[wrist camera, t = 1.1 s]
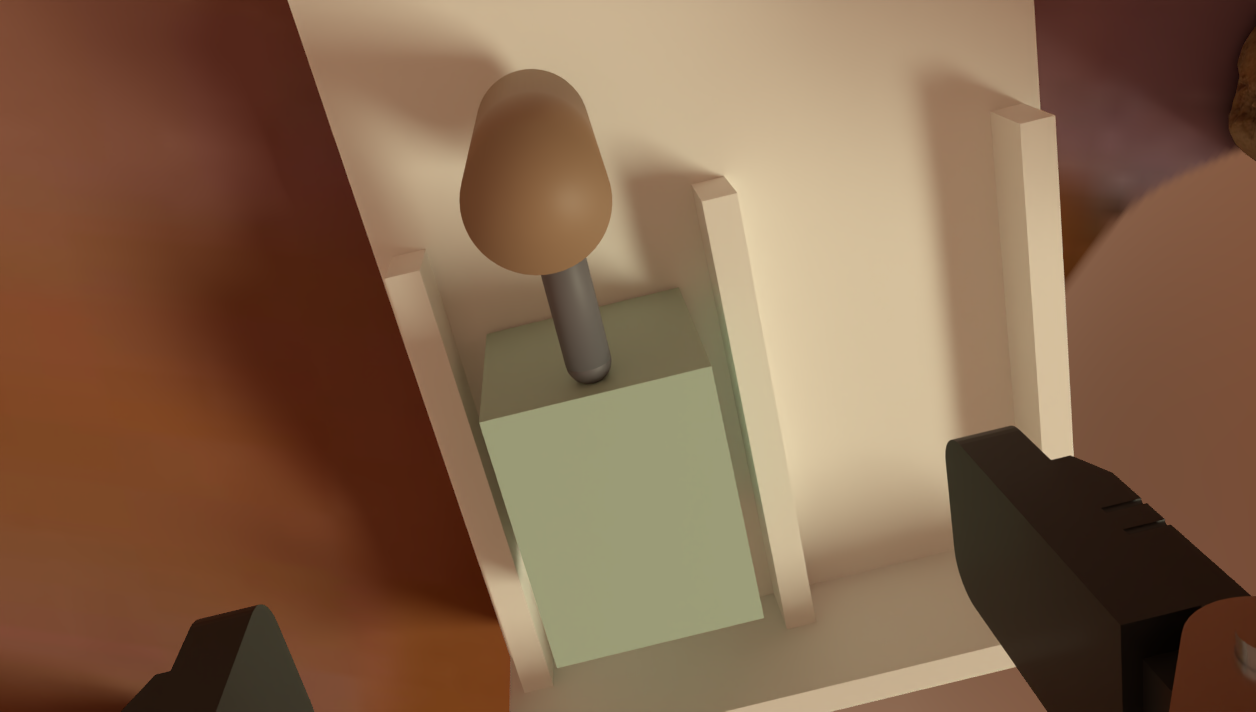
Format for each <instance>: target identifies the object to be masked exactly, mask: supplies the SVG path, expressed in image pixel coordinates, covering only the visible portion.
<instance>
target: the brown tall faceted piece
mask: <svg viewBox="0 0 1256 712" xmlns="http://www.w3.org/2000/svg"><path fill="white" fill-rule="evenodd" d="M1237 66H1238V71H1239V76H1240V77H1239V81H1238V86H1237V91H1236V95H1235V97H1234V100H1233V105H1232V109H1231V112H1230V114H1229V131H1230V134H1231V136H1232V138H1233V140H1234V142H1235V144H1236V145H1237V146H1238V147H1239V148H1240V149H1241V150H1242V151H1243V152H1244V153H1246V154H1247V155H1248V156H1250V157H1251V158H1252V159H1254V160H1255V161H1256V26H1255V28H1254V29H1253V31H1252V32H1251V34H1250V35H1249V36H1248V38H1247V40H1246V41H1245V43H1244V45H1243V47H1242V50H1241V53H1240V56H1239V60H1238V63H1237Z"/></svg>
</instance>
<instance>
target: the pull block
mask: <svg viewBox="0 0 1256 712" xmlns="http://www.w3.org/2000/svg"><path fill="white" fill-rule="evenodd" d="M459 203H460V213H461V217H462V221H463V224H464V227H465V229H466V231H467V233H468V235H469V237H470V239H471V240H472V242H473V243H474V245H475V246H476V247H477V248H478V249H479V250H480V251H481V253H482V254H483V255H485V256H486V257H487V258H488V259H489V260H491V261H492V262H494V263H495V264H497V265H499V266H501V267H503V268H505V269H507V270H510V271H513V272H516V273H520V274H525V275H541V278H542V282H543V285H544V289H545V293H546V296H547V300H548V304H549V307H550V311H551V315H552V318H551V319H547V320H542V321H538V322H534V323H530V324H526V325H522V326H518V327H514V328H510V329H505V330H501V331H497V332H493V333H489V334H487V336H486V347H485V359H484V371H483V382H482V394H481V405H480V417H479V424H480V427H481V430H482V434H483V437H484V440H485V443H486V446H487V449H488V452H489V456H490V459H491V462H492V465H493V468H494V471H495V475H496V478H497V481H498V484H499V487H500V490H501V493H502V497H503V500H504V503H505V506H506V509H507V512H508V515H509V519H510V522H511V525H512V528H513V531H514V534H515V537H516V541H517V544H518V547H519V550H520V553H521V556H522V559H523V563H524V566H525V569H526V572H527V575H528V578H529V581H530V585H531V588H532V591H533V594H534V597H535V600H536V603H537V607H538V610H539V613H540V616H541V619H542V622H543V625H544V629H545V632H546V635H547V638H548V641H549V644H550V647H551V651H552V654H553V657H554V660H555V663H556V666H557V668H560V667H564V666H568V665H573V664H577V663H581V662H585V661H589V660H593V659H597V658H601V657H606V656H610V655H614V654H618V653H622V652H626V651H630V650H634V649H639V648H643V647H647V646H651V645H655V644H659V643H663V642H667V641H672V640H676V639H680V638H684V637H688V636H692V635H696V634H700V633H704V632H709V631H713V630H717V629H721V628H725V627H729V626H733V625H737V624H742V623H746V622H750V621H754V620H758V619H762V618H764V615H763V610H762V605H761V600H760V596H759V591H758V586H757V581H756V576H755V572H754V567H753V562H752V557H751V553H750V548H749V543H748V538H747V533H746V529H745V524H744V519H743V514H742V509H741V505H740V500H739V495H738V490H737V486H736V481H735V476H734V471H733V466H732V462H731V457H730V452H729V447H728V443H727V438H726V433H725V428H724V423H723V419H722V414H721V409H720V404H719V400H718V395H717V390H716V385H715V380H714V376H713V371H712V366H711V364H710V361H709V359H708V357H707V354H706V352H705V349H704V347H703V345H702V342H701V340H700V337H699V335H698V333H697V330H696V328H695V325H694V323H693V321H692V318H691V316H690V313H689V311H688V309H687V306H686V304H685V301H684V299H683V297H682V294H681V292H680V289H679V287H678V288H674V289H670V290H666V291H662V292H657V293H653V294H649V295H645V296H641V297H637V298H633V299H629V300H625V301H620V302H616V303H612V304H608V305H604V306H600V307H599V306H598V302H597V298H596V294H595V290H594V286H593V282H592V278H591V274H590V270H589V266H588V262H587V258H586V257H587V256H588V255H589V254H590V253H591V252H592V251H593V250H594V249H595V248H596V247H597V245H598V244H599V243H600V241H601V240H602V238H603V236H604V234H605V232H606V230H607V227H608V225H609V221H610V217H611V212H612V191H611V185H610V182H609V178H608V175H607V172H606V169H605V166H604V163H603V160H602V157H601V154H600V150H599V147H598V144H597V141H596V138H595V135H594V132H593V129H592V126H591V123H590V120H589V116H588V113H587V110H586V107H585V105H584V103H583V100H582V98H581V97H580V95H579V94H578V92H577V91H576V90H575V89H574V87H573V86H572V85H570V84H569V83H568V82H567V81H566V80H564V79H563V78H562V77H560V76H558V75H556V74H554V73H551V72H548V71H544V70H539V69H524V70H518V71H515V72H512V73H510V74H507V75H505V76H504V77H502V78H500V79H499V80H498V81H496V82H495V83H494V84H493V85H492V86H491V87H490V88H489V89H488V91H487V92H486V94H485V95H484V97H483V99H482V101H481V103H480V106H479V109H478V112H477V117H476V121H475V125H474V130H473V134H472V139H471V143H470V147H469V152H468V156H467V160H466V165H465V169H464V174H463V178H462V182H461V188H460V198H459Z"/></svg>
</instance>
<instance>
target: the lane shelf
mask: <svg viewBox="0 0 1256 712" xmlns="http://www.w3.org/2000/svg"><path fill="white" fill-rule="evenodd" d="M288 3H289V6H290V9H291V12H292V15H293V18H294V21H295V24H296V27H297V30H298V33H299V35H300V38H301V41H302V44H303V47H304V50H305V53H306V56H307V59H308V62H309V65H310V68H311V71H312V74H313V77H314V80H315V83H316V86H317V89H318V91H319V94H320V97H321V100H322V103H323V106H324V109H325V112H326V115H327V118H328V121H329V124H330V127H331V130H332V133H333V136H334V139H335V142H336V144H337V147H338V150H339V153H340V156H341V159H342V162H343V165H344V168H345V171H346V174H347V177H348V180H349V183H350V186H351V189H352V192H353V195H354V198H355V200H356V203H357V206H358V209H359V212H360V215H361V218H362V221H363V224H364V227H365V230H366V233H367V236H368V239H369V242H370V245H371V248H372V251H373V254H374V256H375V259H376V262H377V265H378V268H379V271H380V274H381V277H382V280H383V283H384V286H385V289H386V292H387V295H388V298H389V301H390V304H391V307H392V309H393V312H394V315H395V318H396V321H397V324H398V327H399V330H400V333H401V336H402V339H403V342H404V345H405V348H406V351H407V354H408V357H409V360H410V363H411V365H412V368H413V371H414V374H415V377H416V380H417V383H418V386H419V389H420V392H421V395H422V398H423V401H424V404H425V407H426V410H427V413H428V416H429V419H430V421H431V424H432V427H433V430H434V433H435V436H436V439H437V442H438V445H439V448H440V451H441V454H442V457H443V460H444V463H445V466H446V469H447V472H448V474H449V477H450V480H451V483H452V486H453V489H454V492H455V495H456V498H457V501H458V504H459V507H460V510H461V513H462V516H463V519H464V522H465V525H466V528H467V530H468V533H469V536H470V539H471V542H472V545H473V548H474V551H475V554H476V557H477V560H478V563H479V566H480V569H481V572H482V575H483V578H484V581H485V584H486V586H487V589H488V592H489V595H490V598H491V601H492V604H493V607H494V610H495V613H496V616H497V619H498V622H499V625H500V628H501V631H502V634H503V637H504V639H505V642H506V645H507V648H508V651H509V654H510V657H511V660H510V712H831V711H836V710H840V709H844V708H848V707H852V706H856V705H860V704H864V703H868V702H873V701H877V700H881V699H885V698H889V697H893V696H897V695H901V694H906V693H909V692H914V691H918V690H922V689H926V688H930V687H934V686H939V685H943V684H947V683H950V682H955V681H959V680H963V679H967V678H972V677H976V676H980V675H984V674H988V673H992V672H996V671H1001V670H1005V669H1009V668H1013V667H1016V666H1015V664H1014V663H1013V661H1012V660H1011V659H1010V657H1009V656H1008V654H1007V653H1006V651H1005V650H1004V649H1003V647H1002V646H1001V644H1000V643H999V641H998V640H997V639H996V637H995V636H994V634H993V633H992V631H991V630H990V629H989V627H988V626H987V624H986V623H985V621H984V620H983V619H982V617H981V616H980V614H979V613H978V611H977V610H976V608H975V607H974V605H973V604H972V602H971V600H970V599H969V597H968V594H967V592H966V590H965V588H964V585H963V583H962V580H961V577H960V574H959V570H958V566H957V562H956V557H955V551H954V542H953V532H952V522H951V511H950V501H949V491H948V481H947V471H946V460H945V450H946V445H947V443H948V441H950V440H952V439H956V438H961V437H965V436H969V435H973V434H977V433H981V432H985V431H990V430H994V429H998V428H1002V427H1006V426H1015V427H1017V428H1018V429H1019V430H1020V431H1021V432H1022V433H1024V434H1025V435H1026V436H1027V437H1028V438H1029V439H1030V440H1031V441H1032V442H1033V443H1034V444H1035V445H1036V446H1037V447H1038V448H1039V449H1040V450H1041V451H1042V452H1043V453H1044V454H1045V455H1046V456H1047V457H1048V458H1049V459H1051V460H1053V459H1057V458H1062V457H1066V456H1070V455H1071V456H1073V457H1074V453H1073V435H1072V417H1071V399H1070V379H1069V361H1068V344H1067V324H1066V305H1065V286H1064V268H1063V249H1062V231H1061V212H1060V194H1059V175H1058V157H1057V138H1056V120H1055V115H1053V114H1050V113H1047V112H1045V111H1042V110H1040V94H1039V77H1038V60H1037V43H1036V27H1035V10H1034V0H288ZM524 69H539V70H544V71H548V72H551V73H554V74H556V75H558V76H560V77H562V78H563V79H564V80H566V81H567V82H568V83H569V84H570V85H572V86H573V87H574V89H575V90H576V91H577V92H578V94H579V95H580V97H581V98H582V100H583V103H584V105H585V107H586V110H587V113H588V116H589V120H590V123H591V126H592V129H593V132H594V135H595V138H596V141H597V144H598V147H599V150H600V154H601V157H602V160H603V163H604V166H605V169H606V172H607V175H608V178H609V182H610V185H611V191H612V212H611V217H610V221H609V225H608V227H607V230H606V232H605V234H604V236H603V238H602V240H601V241H600V243H599V244H598V245H597V247H596V248H595V249H594V250H593V251H592V252H591V253H590V254H589V255H588V256H587V257H586V258H587V262H588V266H589V270H590V274H591V278H592V282H593V286H594V290H595V294H596V298H597V302H598V306H599V307H600V306H604V305H608V304H612V303H616V302H620V301H625V300H629V299H633V298H637V297H641V296H645V295H649V294H653V293H657V292H662V291H666V290H670V289H674V288H678V287H679V289H680V292H681V294H682V297H683V299H684V301H685V304H686V306H687V309H688V311H689V313H690V316H691V318H692V321H693V323H694V325H695V328H696V330H697V333H698V335H699V337H700V340H701V342H702V345H703V347H704V349H705V352H706V354H707V357H708V359H709V361H710V364H711V366H712V371H713V376H714V380H715V385H716V390H717V395H718V400H719V404H720V409H721V414H722V419H723V423H724V428H725V433H726V438H727V443H728V447H729V452H730V457H731V462H732V466H733V471H734V476H735V481H736V486H737V490H738V495H739V500H740V505H741V509H742V514H743V519H744V524H745V529H746V533H747V538H748V543H749V548H750V553H751V557H752V562H753V567H754V572H755V576H756V581H757V586H758V591H759V596H760V600H761V605H762V610H763V615H764V618H762V619H758V620H754V621H750V622H746V623H742V624H737V625H733V626H729V627H725V628H721V629H717V630H713V631H709V632H704V633H700V634H696V635H692V636H688V637H684V638H680V639H676V640H672V641H667V642H663V643H659V644H655V645H651V646H647V647H643V648H639V649H634V650H630V651H626V652H622V653H618V654H614V655H610V656H606V657H601V658H597V659H593V660H589V661H585V662H581V663H577V664H573V665H568V666H564V667H560V668H557V666H556V663H555V660H554V657H553V654H552V651H551V647H550V644H549V641H548V638H547V635H546V632H545V629H544V625H543V622H542V619H541V616H540V613H539V610H538V607H537V603H536V600H535V597H534V594H533V591H532V588H531V585H530V581H529V578H528V575H527V572H526V569H525V566H524V563H523V559H522V556H521V553H520V550H519V547H518V544H517V541H516V537H515V534H514V531H513V528H512V525H511V522H510V519H509V515H508V512H507V509H506V506H505V503H504V500H503V497H502V493H501V490H500V487H499V484H498V481H497V478H496V475H495V471H494V468H493V465H492V462H491V459H490V456H489V452H488V449H487V446H486V443H485V440H484V437H483V434H482V430H481V427H480V424H479V417H480V405H481V394H482V382H483V371H484V359H485V347H486V336H487V334H489V333H493V332H497V331H501V330H505V329H510V328H514V327H518V326H522V325H526V324H530V323H534V322H538V321H542V320H547V319H551V318H552V315H551V311H550V307H549V304H548V300H547V296H546V293H545V289H544V285H543V282H542V278H541V275H525V274H520V273H516V272H513V271H510V270H507V269H505V268H503V267H501V266H499V265H497V264H495V263H494V262H492V261H491V260H489V259H488V258H487V257H486V256H485V255H483V254H482V253H481V251H480V250H479V249H478V248H477V247H476V246H475V245H474V243H473V242H472V240H471V239H470V237H469V235H468V233H467V231H466V229H465V227H464V224H463V221H462V217H461V213H460V203H459V198H460V188H461V182H462V178H463V174H464V169H465V165H466V160H467V156H468V152H469V147H470V143H471V139H472V134H473V130H474V125H475V121H476V117H477V112H478V109H479V106H480V103H481V101H482V99H483V97H484V95H485V94H486V92H487V91H488V89H489V88H490V87H491V86H492V85H493V84H494V83H495V82H496V81H498V80H499V79H500V78H502V77H504V76H505V75H507V74H510V73H512V72H515V71H518V70H524Z"/></svg>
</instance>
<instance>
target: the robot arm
mask: <svg viewBox="0 0 1256 712" xmlns="http://www.w3.org/2000/svg"><path fill="white" fill-rule="evenodd" d="M945 460H946V471H947V481H948V491H949V501H950V511H951V522H952V532H953V542H954V551H955V557H956V562H957V566H958V570H959V574H960V577H961V580H962V583H963V585H964V588H965V590H966V592H967V594H968V597H969V599H970V600H971V602H972V604H973V605H974V607H975V608H976V610H977V611H978V613H979V614H980V616H981V617H982V619H983V620H984V621H985V623H986V624H987V626H988V627H989V629H990V630H991V631H992V633H993V634H994V636H995V637H996V639H997V640H998V641H999V643H1000V644H1001V646H1002V647H1003V649H1004V650H1005V651H1006V653H1007V654H1008V656H1009V657H1010V659H1011V660H1012V661H1013V663H1014V664H1015V666H1016V667H1017V669H1018V670H1019V671H1020V673H1021V674H1022V676H1023V677H1024V679H1025V680H1026V682H1027V683H1028V684H1029V686H1030V687H1031V689H1032V690H1033V692H1034V693H1035V694H1036V696H1037V697H1038V699H1039V700H1040V702H1041V703H1042V704H1043V706H1044V707H1045V709H1046V710H1047V712H1256V596H1251V595H1249V594H1248V593H1247V592H1246V591H1245V590H1244V589H1243V588H1242V587H1241V586H1239V585H1238V584H1237V583H1236V582H1235V581H1234V580H1233V579H1232V578H1230V577H1229V576H1228V575H1227V574H1226V573H1225V572H1224V571H1222V570H1221V569H1220V568H1219V567H1218V566H1217V565H1216V564H1215V563H1214V562H1212V561H1211V560H1210V559H1209V558H1208V557H1207V556H1206V555H1204V554H1203V553H1202V552H1201V551H1200V550H1199V549H1198V548H1197V547H1195V546H1194V545H1193V544H1192V543H1191V542H1190V541H1189V540H1188V539H1186V538H1185V537H1184V536H1183V535H1182V534H1181V533H1180V532H1179V531H1177V530H1176V529H1175V528H1174V527H1173V526H1172V525H1166V523H1165V519H1164V518H1163V517H1162V516H1161V515H1159V514H1158V513H1157V512H1156V511H1155V510H1154V509H1153V508H1151V507H1150V506H1149V505H1148V504H1147V503H1146V504H1143V503H1142V501H1141V498H1140V497H1139V496H1138V495H1137V494H1136V493H1134V492H1133V491H1132V490H1131V489H1130V488H1129V487H1128V486H1127V485H1126V484H1124V483H1123V482H1122V481H1121V480H1120V479H1119V478H1118V477H1117V476H1115V475H1114V474H1113V473H1111V472H1109V471H1107V470H1104V469H1102V468H1099V467H1097V466H1095V465H1092V464H1090V463H1087V462H1085V461H1083V460H1080V459H1078V458H1075V457H1073V456H1071V455H1070V456H1066V457H1062V458H1057V459H1053V460H1051V459H1049V458H1048V457H1047V456H1046V455H1045V454H1044V453H1043V452H1042V451H1041V450H1040V449H1039V448H1038V447H1037V446H1036V445H1035V444H1034V443H1033V442H1032V441H1031V440H1030V439H1029V438H1028V437H1027V436H1026V435H1025V434H1024V433H1022V432H1021V431H1020V430H1019V429H1018V428H1017V427H1015V426H1006V427H1002V428H998V429H994V430H990V431H985V432H981V433H977V434H973V435H969V436H965V437H961V438H956V439H952V440H950V441H948V443H947V445H946V450H945ZM121 712H314V710H313V707H312V704H311V702H310V699H309V697H308V695H307V692H306V690H305V688H304V685H303V683H302V680H301V678H300V676H299V673H298V671H297V668H296V666H295V664H294V661H293V659H292V657H291V654H290V652H289V649H288V647H287V645H286V642H285V640H284V638H283V635H282V633H281V630H280V628H279V626H278V623H277V621H276V619H275V617H274V615H273V614H272V612H271V611H270V609H269V608H268V607H266V606H265V605H256V606H252V607H248V608H244V609H239V610H235V611H231V612H227V613H223V614H219V615H215V616H210V617H206V618H202V619H198V620H196V621H195V622H194V623H193V624H192V626H191V627H190V629H189V632H188V634H187V636H186V638H185V640H184V643H183V645H182V647H181V649H180V652H179V654H178V656H177V658H176V660H175V663H174V665H173V667H172V669H171V671H169V672H165V673H161V674H157V675H155V676H154V677H153V678H152V679H151V680H150V681H149V682H148V683H147V684H146V685H145V686H144V688H143V689H142V690H141V691H140V692H139V693H138V694H137V695H136V696H135V697H134V698H133V699H132V700H131V701H130V703H129V704H128V705H127V706H126V707H125V708H124V709H123V710H122V711H121Z"/></svg>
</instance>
